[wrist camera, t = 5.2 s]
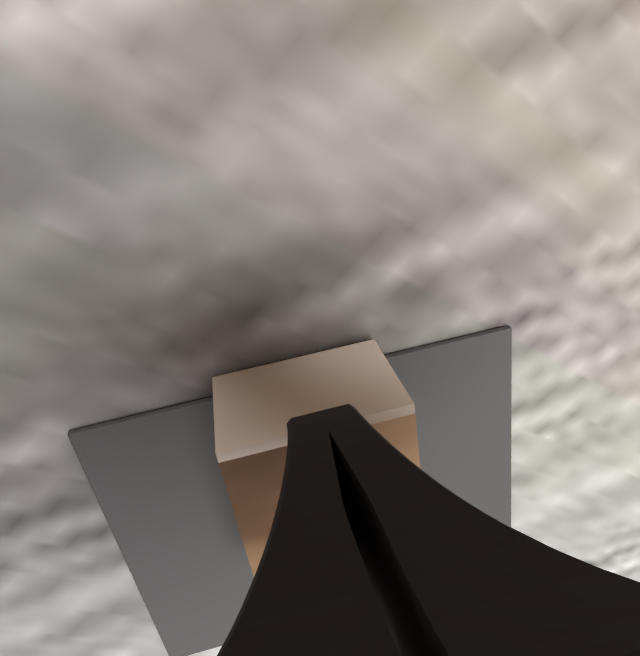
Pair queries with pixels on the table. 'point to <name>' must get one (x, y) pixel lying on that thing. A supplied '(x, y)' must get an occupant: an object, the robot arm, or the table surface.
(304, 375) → the walnut block
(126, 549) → the mat
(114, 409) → the table surface
